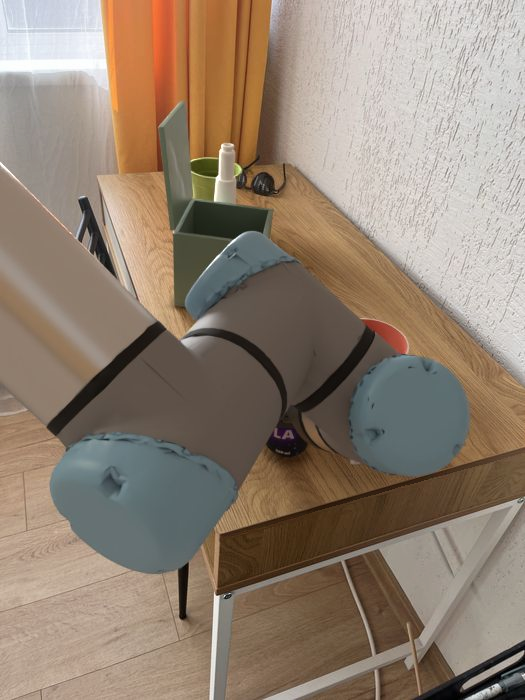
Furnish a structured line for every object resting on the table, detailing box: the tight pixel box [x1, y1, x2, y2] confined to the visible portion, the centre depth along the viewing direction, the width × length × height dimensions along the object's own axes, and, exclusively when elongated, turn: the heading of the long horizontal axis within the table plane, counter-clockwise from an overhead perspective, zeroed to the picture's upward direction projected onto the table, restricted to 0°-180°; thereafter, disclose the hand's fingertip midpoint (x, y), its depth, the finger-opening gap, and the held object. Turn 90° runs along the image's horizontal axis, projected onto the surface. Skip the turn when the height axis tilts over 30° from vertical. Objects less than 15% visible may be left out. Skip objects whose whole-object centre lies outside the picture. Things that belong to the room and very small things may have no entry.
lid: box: [157, 100, 194, 232], centre depth 82 cm, size 15×14×1 cm
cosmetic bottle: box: [214, 142, 237, 204], centre depth 98 cm, size 6×6×22 cm
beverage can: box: [265, 427, 309, 458], centre depth 65 cm, size 6×6×12 cm
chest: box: [172, 197, 274, 308], centre depth 91 cm, size 15×14×14 cm
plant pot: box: [190, 157, 243, 201], centre depth 114 cm, size 12×12×11 cm
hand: (288, 407), depth 67 cm, fingers open, 13 cm apart
